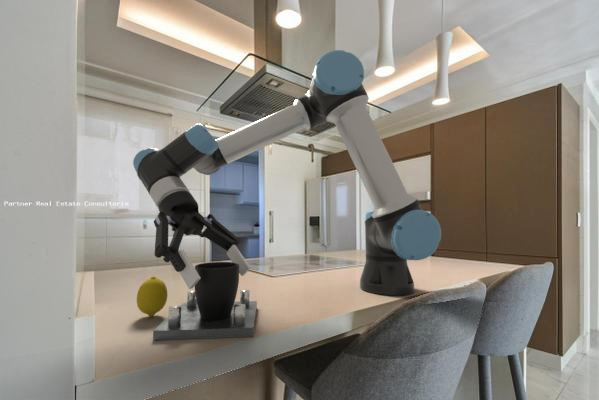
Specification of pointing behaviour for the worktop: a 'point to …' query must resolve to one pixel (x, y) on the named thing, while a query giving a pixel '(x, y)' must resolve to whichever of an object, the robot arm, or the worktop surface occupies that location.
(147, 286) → the lemon
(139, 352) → the worktop surface
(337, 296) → the worktop surface
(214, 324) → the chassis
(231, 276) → the mug
